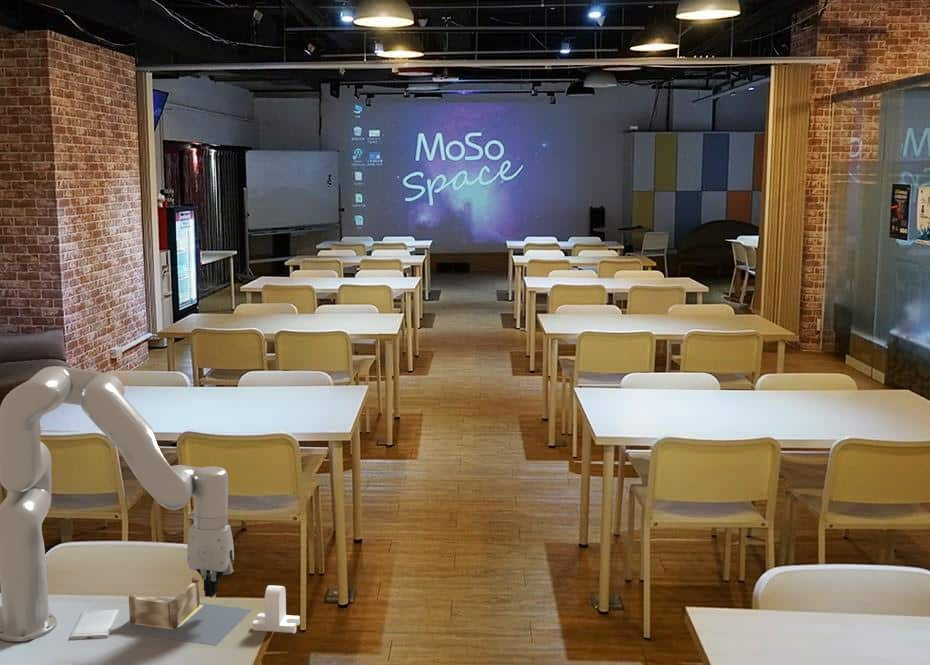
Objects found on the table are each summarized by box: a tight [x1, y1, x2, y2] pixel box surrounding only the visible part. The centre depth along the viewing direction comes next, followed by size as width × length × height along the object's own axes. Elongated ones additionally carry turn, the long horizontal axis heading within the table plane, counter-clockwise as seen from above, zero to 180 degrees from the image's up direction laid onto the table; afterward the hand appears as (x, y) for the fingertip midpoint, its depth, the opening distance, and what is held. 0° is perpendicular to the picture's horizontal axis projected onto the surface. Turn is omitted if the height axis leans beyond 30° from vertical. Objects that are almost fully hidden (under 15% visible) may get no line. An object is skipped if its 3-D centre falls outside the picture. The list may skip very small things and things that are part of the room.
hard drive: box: [69, 609, 120, 640], centre depth 221 cm, size 2×8×12 cm
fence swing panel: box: [170, 576, 201, 628], centre depth 226 cm, size 13×2×7 cm, turn 170°
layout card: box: [115, 596, 253, 646], centre depth 224 cm, size 25×18×1 cm
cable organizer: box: [252, 584, 301, 634], centre depth 222 cm, size 5×10×10 cm, turn 84°
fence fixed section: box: [128, 593, 171, 628], centre depth 222 cm, size 10×2×6 cm, turn 77°
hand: (211, 594), depth 227 cm, fingers closed
